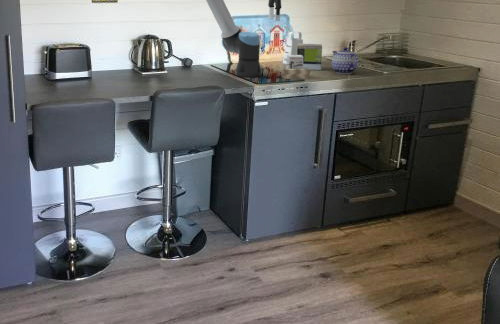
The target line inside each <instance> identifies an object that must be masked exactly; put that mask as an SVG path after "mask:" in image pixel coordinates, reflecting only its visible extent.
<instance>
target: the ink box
mask: <svg viewBox="0 0 500 324" xmlns="http://www.w3.org/2000/svg"><path fill="white" fill-rule="evenodd" d="M285 69H303V56H302V55H287V63H286V64H285Z"/></svg>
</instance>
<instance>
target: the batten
mask: <svg viewBox="0 0 500 324" xmlns="http://www.w3.org/2000/svg"><path fill="white" fill-rule="evenodd" d="M281 75H282V79H283V78H284V79H283V80H290V79H291V80H292V79H294V80H295V79H296V80H298V79H300V80H301V79H306V80H307V79H310V77H311V70H310V69H286V68H282V74H281Z"/></svg>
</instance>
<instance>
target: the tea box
mask: <svg viewBox="0 0 500 324" xmlns="http://www.w3.org/2000/svg"><path fill="white" fill-rule="evenodd" d="M322 53H323V45H322V43H303V44H298V45H297V55H302V56H303V69H310V71H311V70H312V71H321V70H322V59H323V58H322V56H323V54H322Z"/></svg>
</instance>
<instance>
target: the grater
mask: <svg viewBox="0 0 500 324" xmlns="http://www.w3.org/2000/svg"><path fill="white" fill-rule="evenodd" d="M293 33H294V34H295V33H296V34H297V33H298V38H297V37H296V38H293V37H292V34H293ZM302 35H303V33H302V32H299V31H290V32H289V33H288V38H286V41H285V47H284V53H283V59H282V64H285V65H286V63H287V55H297V45H298V44H304V39H302Z"/></svg>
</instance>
